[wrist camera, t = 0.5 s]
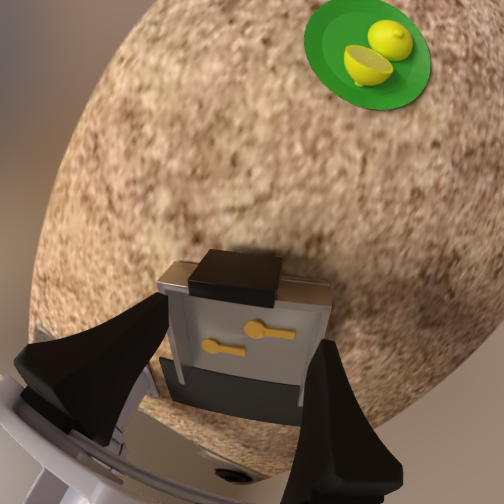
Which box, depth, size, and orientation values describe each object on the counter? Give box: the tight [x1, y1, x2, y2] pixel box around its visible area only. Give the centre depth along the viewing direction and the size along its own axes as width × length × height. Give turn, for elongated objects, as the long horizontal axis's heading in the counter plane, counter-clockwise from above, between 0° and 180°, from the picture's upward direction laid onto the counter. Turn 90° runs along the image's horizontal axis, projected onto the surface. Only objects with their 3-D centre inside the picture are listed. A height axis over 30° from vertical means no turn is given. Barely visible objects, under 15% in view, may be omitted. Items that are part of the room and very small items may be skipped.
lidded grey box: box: [157, 249, 332, 407], centre depth 21 cm, size 14×12×5 cm
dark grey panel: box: [159, 357, 303, 427], centre depth 29 cm, size 20×9×1 cm, turn 88°
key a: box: [201, 338, 246, 356], centre depth 24 cm, size 4×2×1 cm, turn 88°
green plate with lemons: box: [304, 0, 431, 110], centre depth 11 cm, size 8×8×3 cm
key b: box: [244, 320, 295, 340], centre depth 22 cm, size 4×2×1 cm, turn 88°
